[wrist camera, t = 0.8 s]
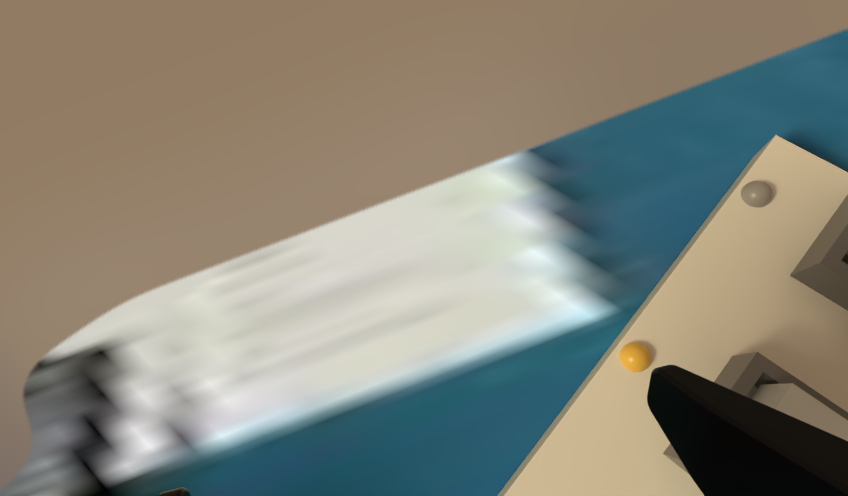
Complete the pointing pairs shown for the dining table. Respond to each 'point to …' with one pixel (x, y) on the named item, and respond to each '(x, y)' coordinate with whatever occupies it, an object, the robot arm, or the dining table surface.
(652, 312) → the breaker panel
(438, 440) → the dining table surface
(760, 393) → the breaker middle
